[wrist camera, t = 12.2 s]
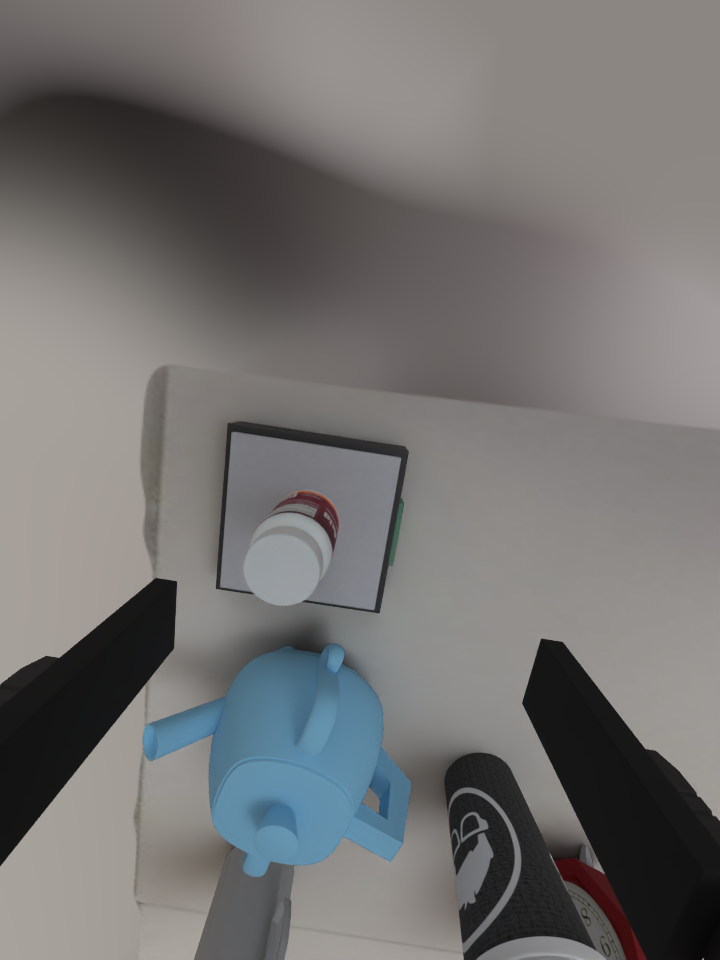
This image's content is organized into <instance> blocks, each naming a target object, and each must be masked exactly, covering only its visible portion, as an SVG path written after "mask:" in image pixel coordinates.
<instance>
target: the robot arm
mask: <svg viewBox="0 0 720 960" xmlns="http://www.w3.org/2000/svg"><path fill="white" fill-rule="evenodd" d="M176 594H177V581H171V580H165V579H159V578H155V579H154V580H153V581H152V582H151V583H149V584H148V585H147V586H146V587H145V588H143V589H142V590H141V591H140V592H139V593H137V594H136V595H135V596H134V597H132V598H131V599H130V600H129V601H128V602H126V603H125V604H124V605H123V606H122V607H120V608H119V609H118V610H117V611H116V612H115V613H113V614H112V615H111V616H109V617H108V618H107V619H106V620H105V621H103V622H102V623H101V624H100V625H99V626H97V627H96V628H95V629H94V630H93V631H91V632H90V633H89V634H88V635H87V636H85V637H84V638H83V639H82V640H80V641H79V642H78V643H77V644H76V645H74V646H73V647H72V648H71V649H70V650H68V651H67V652H66V653H65V654H64V655H62V657H60V658H56V657H50V656H45V657H43V658H41V659H39V660H37V661H35V662H33V663H31V664H29V665H27V666H25V667H23V668H21V669H20V670H19V671H17V672H16V673H15V674H13V675H12V676H11V677H9V678H8V679H7V680H5V681H4V682H3V683H2V684H1V685H0V866H1V864H2V863H3V862H4V861H5V860H6V858H7V857H8V856H9V854H10V853H11V852H12V851H13V849H14V848H15V847H16V846H17V845H18V843H19V842H20V841H21V840H22V838H23V837H24V836H25V834H26V833H27V832H28V830H29V829H30V828H31V827H32V826H33V824H34V823H35V822H36V821H37V819H38V818H39V817H40V816H41V814H42V813H43V812H44V811H45V809H46V808H47V807H48V806H49V804H50V803H51V802H52V801H53V799H54V798H55V797H56V796H57V794H58V793H59V792H60V790H61V789H62V788H63V787H64V785H65V784H66V783H67V782H68V780H69V779H70V778H71V777H72V776H73V774H74V773H75V772H76V771H77V769H78V768H79V767H80V765H81V764H82V763H83V762H84V760H85V759H86V758H87V757H88V755H89V754H90V753H91V752H92V750H93V749H94V748H95V747H96V745H97V744H98V743H99V741H100V740H101V739H102V738H103V737H104V735H105V734H106V733H107V732H108V730H109V729H110V728H111V726H112V725H113V724H114V723H115V722H116V720H117V719H118V718H119V717H120V715H121V714H122V713H123V712H124V710H125V709H126V708H127V706H128V705H129V704H130V703H131V702H132V700H133V699H134V698H135V696H136V695H137V694H138V693H139V691H140V690H141V689H142V687H143V686H144V685H145V684H146V683H147V681H148V680H149V679H150V678H151V676H152V675H153V674H154V673H155V671H156V670H157V669H158V668H159V666H160V665H161V664H162V663H163V661H164V660H165V659H166V658H167V656H168V655H169V654H170V653H171V651H172V650H173V649H174V637H175V615H176ZM522 704H523V706H524V708H525V710H526V712H527V714H528V716H529V718H530V720H531V722H532V724H533V726H534V729H535V731H536V733H537V735H538V737H539V739H540V741H541V743H542V745H543V747H544V749H545V751H546V753H547V755H548V757H549V759H550V761H551V764H552V766H553V768H554V770H555V772H556V774H557V776H558V778H559V780H560V782H561V784H562V786H563V788H564V790H565V792H566V794H567V797H568V799H569V801H570V803H571V805H572V807H573V809H574V811H575V813H576V815H577V817H578V819H579V821H580V823H581V825H582V827H583V829H584V832H585V834H586V836H587V838H588V840H589V842H590V844H591V846H592V848H593V850H594V852H595V854H596V856H597V858H598V860H599V862H600V865H601V867H602V869H603V871H604V873H605V875H606V877H607V879H608V881H609V883H610V885H611V887H612V889H613V891H614V893H615V895H616V897H617V900H618V902H619V904H620V906H621V908H622V910H623V912H624V914H625V916H626V918H627V920H628V922H629V924H630V926H631V928H632V930H633V933H634V935H635V937H636V939H637V941H638V943H639V945H640V947H641V949H642V951H643V953H644V955H645V957H646V959H647V960H702V958H704V960H720V821H719V820H718V819H717V817H716V816H713V815H712V811H711V810H710V809H709V808H708V806H707V805H706V804H705V803H704V801H703V800H702V799H701V798H700V797H697V794H696V792H695V790H694V789H693V788H692V787H691V785H690V784H689V783H688V782H687V781H686V779H685V778H684V777H683V776H682V774H681V773H680V772H679V771H678V770H677V769H676V768H675V767H674V766H672V765H671V764H670V763H669V762H668V761H667V760H666V759H664V758H663V757H662V756H661V755H660V754H659V753H658V752H656V751H653V750H647V749H645V748H644V747H643V746H642V744H641V743H640V742H639V740H638V739H637V738H636V736H635V735H634V734H633V733H632V731H631V730H630V729H629V727H628V726H627V725H626V724H625V722H624V721H623V720H622V718H621V717H620V716H619V714H618V713H617V712H616V711H615V709H614V708H613V707H612V705H611V704H610V703H609V702H608V700H607V699H606V698H605V696H604V695H603V694H602V692H601V691H600V690H599V689H598V687H597V686H596V685H595V683H594V682H593V681H592V679H591V678H590V677H589V676H588V674H587V673H586V672H585V670H584V669H583V668H582V667H581V665H580V664H579V663H578V661H577V660H576V659H575V657H574V656H573V655H572V654H571V652H570V651H569V650H568V648H567V647H566V646H565V644H564V643H563V642H559V641H553V640H547V639H541V641H540V645H539V648H538V651H537V655H536V658H535V662H534V665H533V668H532V672H531V675H530V678H529V682H528V685H527V689H526V692H525V695H524V699H523V702H522Z"/></svg>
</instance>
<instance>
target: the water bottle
mask: <svg viewBox="0 0 720 960" xmlns="http://www.w3.org/2000/svg"><path fill="white" fill-rule="evenodd" d="M244 855H245V852H244V851H242V850H241V849H239V848H237V847H234V848H233V849H232V851H231V852H230V853H229V854H228V855H227V857H226V859H225V862H224V865H223V868H222V872H221V875H220V878H219V881H218V885H217V888H216V891H215V894H214V897H213V901H212V904H211V907H210V910H209V913H208V917H207V920H206V923H205V926H204V929H203V933H202V936H201V939H200V942H199V946H198V949H197V952H196V955H195V958H194V960H284V958H285V953H286V949H287V944H288V937H289V928H290V919H291V901H290V895H291V889H292V883H293V875H294V865H288V864H282V863H276V862H272V861H270V863H269V866H268V868H267V870H266V872H265V874H264V875H262V876H260V877H253V876H250V875H248V874H246V873H245V872H244V871H243V869H242V863H243V859H244Z"/></svg>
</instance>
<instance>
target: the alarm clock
mask: <svg viewBox="0 0 720 960" xmlns="http://www.w3.org/2000/svg"><path fill="white" fill-rule="evenodd" d="M554 862H555V864H556V867H557V869H558V871H559V873H560V875H561V877H562V879H563V881H564V883H565V886H566V888H567V890H568V892H569V894H570V896H571V898H572V900H573V902H574V904H575V906H576V909H577V911H578V913H579V915H580V917H581V919H582V921H583V923H584V925H585V927H586V929H587V932H588V934H589V936H590V938H591V940H592V942H593V944H594V946H595V948H596V950H597V952H598V953H600V954H601V955H602V956H603V957H604V958H606V960H647V959H646V957H645V955H644V953H643V951H642V949H641V947H640V945H639V943H638V941H637V939H636V937H635V935H634V933H633V930H632V928H631V926H630V924H629V922H628V920H627V918H626V916H625V914H624V912H623V910H622V908H621V906H620V904H619V902H618V900H617V897H616V895H615V893H614V891H613V889H612V887H611V885H610V883H609V881H608V879H607V877H606V875H605V874H603V873H601V872H600V871H598V870H596V869H594V867H593V863H592V859H591V854H590V850H589V848H588V847H587V846H585V845H584V846H581V852H580V860H578V859H576V858H569V859H561V860H554Z"/></svg>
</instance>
